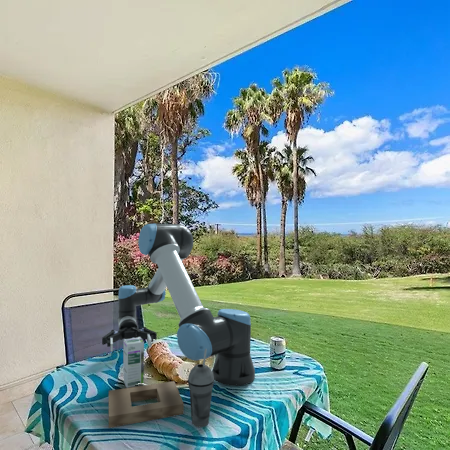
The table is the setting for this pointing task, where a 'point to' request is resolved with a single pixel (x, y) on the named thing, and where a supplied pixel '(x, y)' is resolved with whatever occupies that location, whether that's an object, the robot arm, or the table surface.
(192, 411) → the beverage cup
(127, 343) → the syrup box
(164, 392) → the walnut board
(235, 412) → the table surface
